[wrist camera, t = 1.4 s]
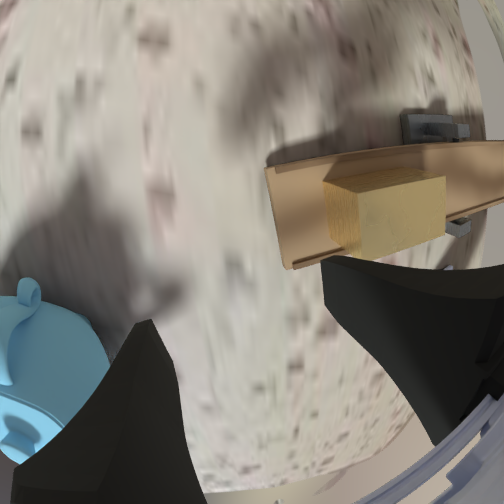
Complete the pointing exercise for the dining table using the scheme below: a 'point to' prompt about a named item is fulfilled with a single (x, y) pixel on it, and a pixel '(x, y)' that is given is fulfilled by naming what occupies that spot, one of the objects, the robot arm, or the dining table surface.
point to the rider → (385, 210)
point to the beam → (357, 162)
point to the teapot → (43, 369)
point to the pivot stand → (433, 131)
